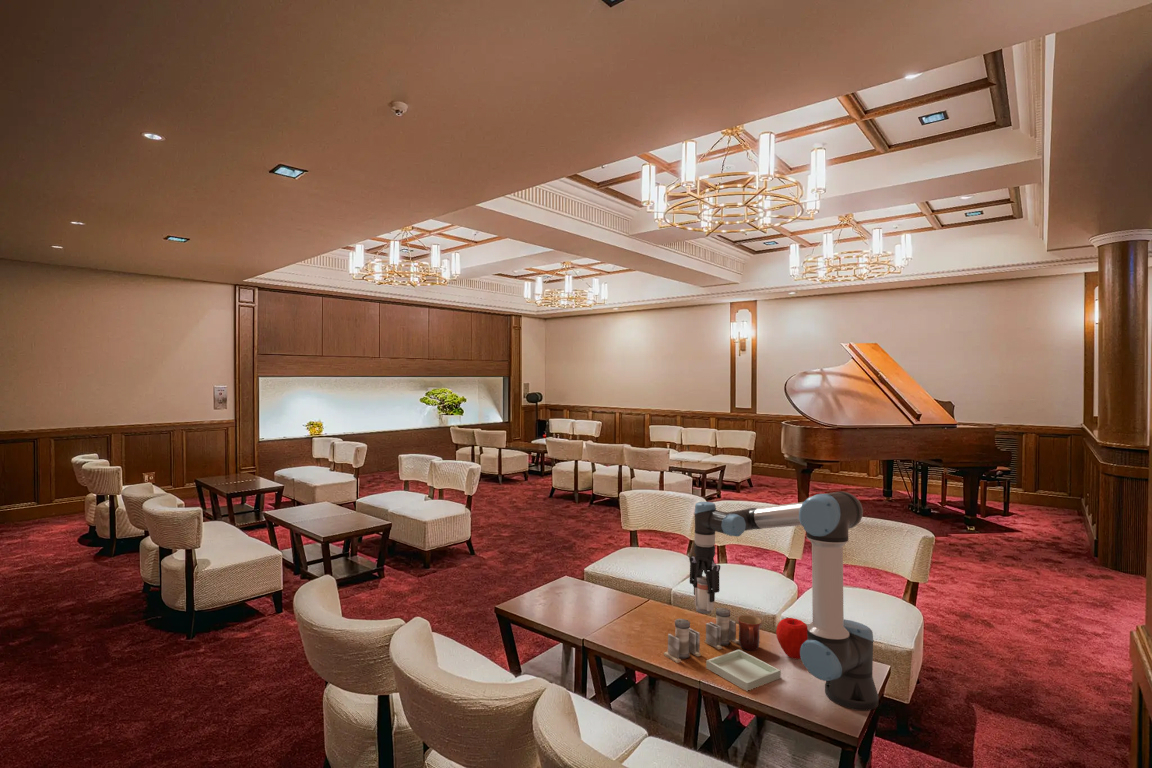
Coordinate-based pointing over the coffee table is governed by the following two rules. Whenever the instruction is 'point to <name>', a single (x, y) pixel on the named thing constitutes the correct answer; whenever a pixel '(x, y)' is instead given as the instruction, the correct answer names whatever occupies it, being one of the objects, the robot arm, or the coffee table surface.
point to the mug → (749, 632)
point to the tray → (743, 669)
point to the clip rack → (690, 638)
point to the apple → (791, 636)
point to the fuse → (702, 595)
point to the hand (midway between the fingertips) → (703, 607)
